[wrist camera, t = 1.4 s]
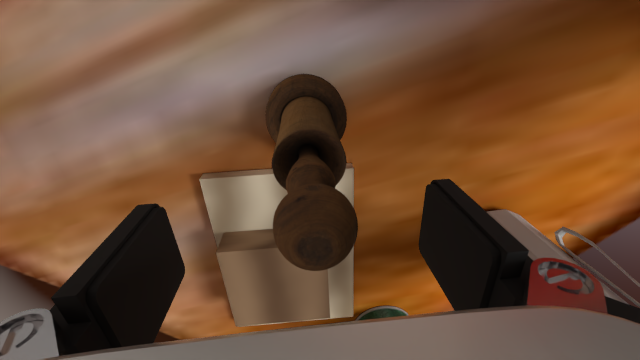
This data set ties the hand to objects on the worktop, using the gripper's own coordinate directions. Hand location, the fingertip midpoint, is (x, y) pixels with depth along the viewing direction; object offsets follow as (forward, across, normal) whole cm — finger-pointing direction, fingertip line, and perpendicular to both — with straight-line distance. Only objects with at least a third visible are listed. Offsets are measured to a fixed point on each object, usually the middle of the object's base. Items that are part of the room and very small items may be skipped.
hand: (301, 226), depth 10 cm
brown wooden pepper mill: (+17, -1, 0) cm, 17 cm away
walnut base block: (+15, +3, +16) cm, 22 cm away
